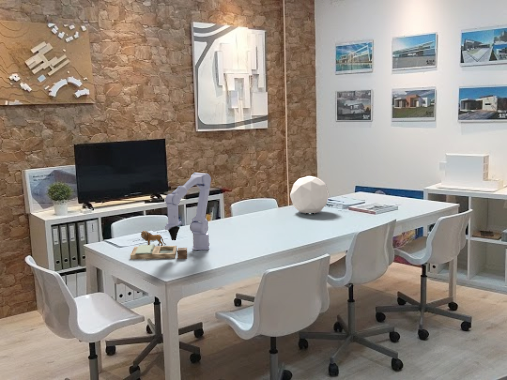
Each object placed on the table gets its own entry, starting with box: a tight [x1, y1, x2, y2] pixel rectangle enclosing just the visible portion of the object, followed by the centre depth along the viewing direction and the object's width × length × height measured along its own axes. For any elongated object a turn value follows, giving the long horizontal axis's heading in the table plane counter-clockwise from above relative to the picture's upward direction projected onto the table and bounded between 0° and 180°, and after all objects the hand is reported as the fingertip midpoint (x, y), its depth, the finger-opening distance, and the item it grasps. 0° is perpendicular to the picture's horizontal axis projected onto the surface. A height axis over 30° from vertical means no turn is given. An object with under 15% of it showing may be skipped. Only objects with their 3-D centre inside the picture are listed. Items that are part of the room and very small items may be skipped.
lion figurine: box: [140, 230, 167, 246], centre depth 334 cm, size 15×5×9 cm, turn 93°
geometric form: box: [289, 175, 330, 214], centre depth 426 cm, size 28×30×30 cm
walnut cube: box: [176, 247, 188, 260], centre depth 308 cm, size 5×5×5 cm
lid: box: [135, 243, 156, 254], centre depth 314 cm, size 9×16×2 cm, turn 5°
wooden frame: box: [129, 245, 178, 260], centre depth 314 cm, size 24×17×3 cm
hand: (173, 240), depth 309 cm, fingers closed
